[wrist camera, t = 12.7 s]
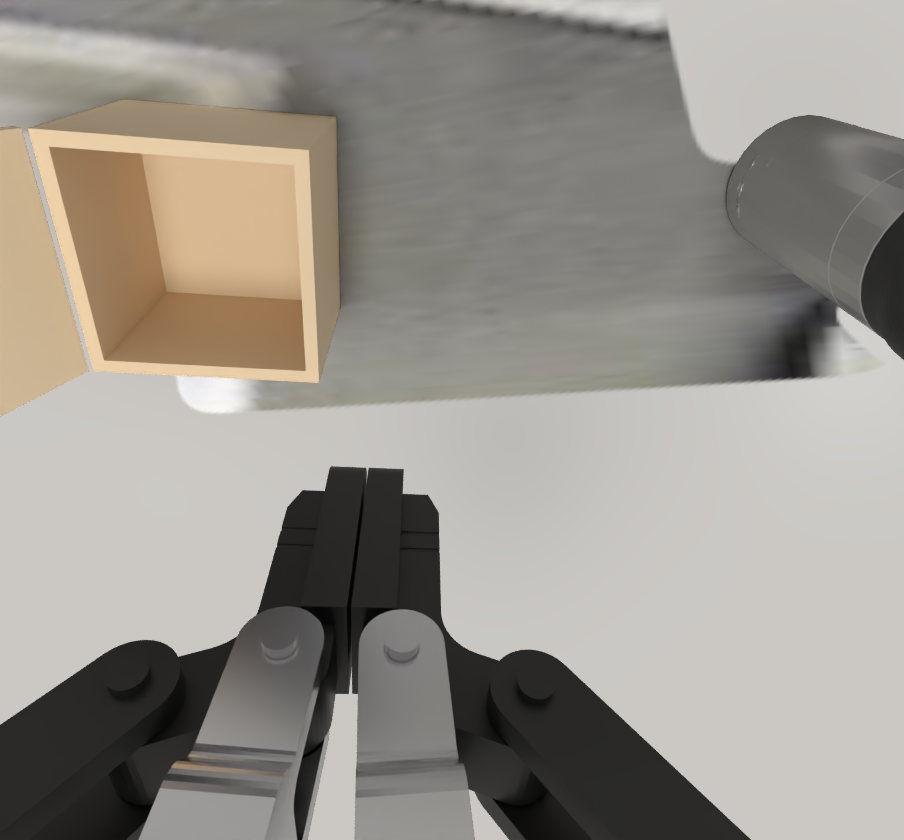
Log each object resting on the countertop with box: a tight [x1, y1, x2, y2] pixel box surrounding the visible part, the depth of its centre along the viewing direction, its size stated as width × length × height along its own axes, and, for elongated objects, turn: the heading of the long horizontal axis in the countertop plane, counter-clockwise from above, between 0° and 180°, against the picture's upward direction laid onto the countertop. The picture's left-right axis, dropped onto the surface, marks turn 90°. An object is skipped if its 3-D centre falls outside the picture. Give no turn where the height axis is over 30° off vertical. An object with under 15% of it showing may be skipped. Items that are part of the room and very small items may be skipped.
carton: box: [28, 99, 340, 383], centre depth 41 cm, size 14×14×12 cm
